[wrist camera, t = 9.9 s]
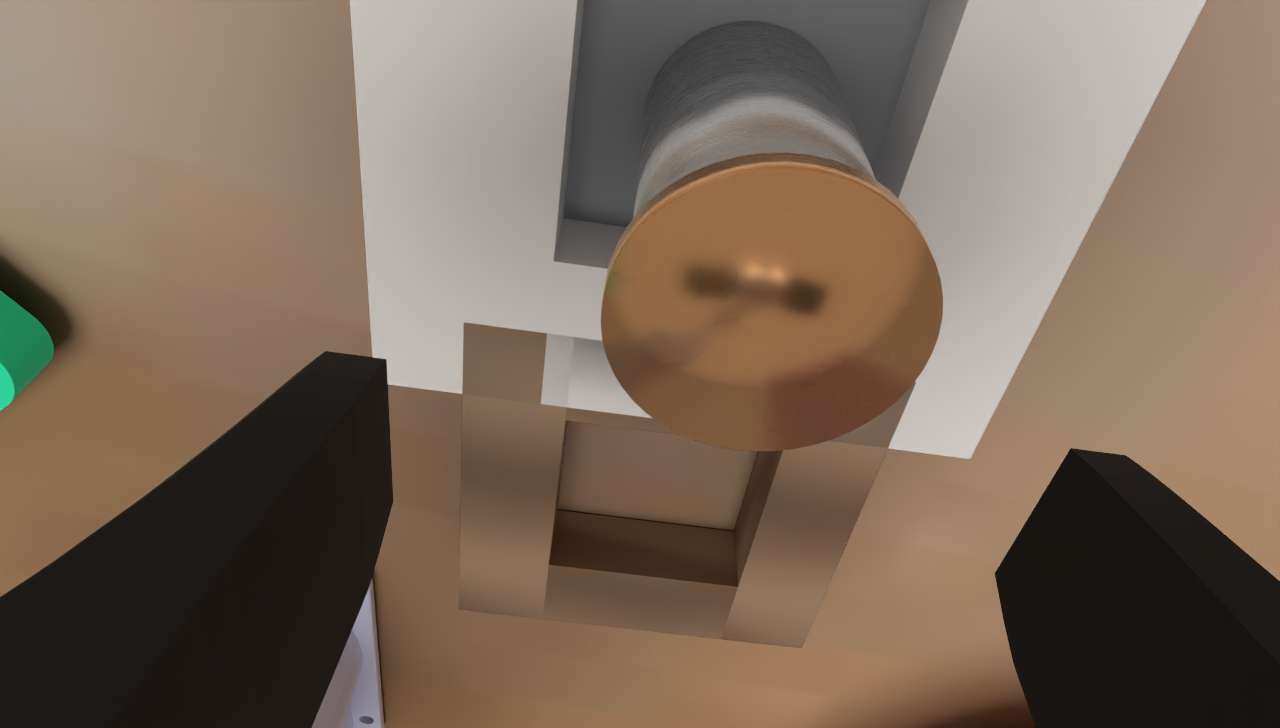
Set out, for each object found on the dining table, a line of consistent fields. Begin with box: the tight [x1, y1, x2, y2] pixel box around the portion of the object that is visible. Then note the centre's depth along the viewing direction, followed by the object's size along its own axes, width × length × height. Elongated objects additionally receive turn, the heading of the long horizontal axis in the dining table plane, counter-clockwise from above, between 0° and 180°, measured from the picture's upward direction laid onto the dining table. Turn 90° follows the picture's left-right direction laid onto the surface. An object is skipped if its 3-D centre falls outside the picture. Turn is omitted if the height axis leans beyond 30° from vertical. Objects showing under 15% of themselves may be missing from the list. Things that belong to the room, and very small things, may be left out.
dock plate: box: [350, 0, 1206, 459], centre depth 16 cm, size 14×14×2 cm
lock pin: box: [601, 21, 943, 451], centre depth 14 cm, size 5×5×7 cm
